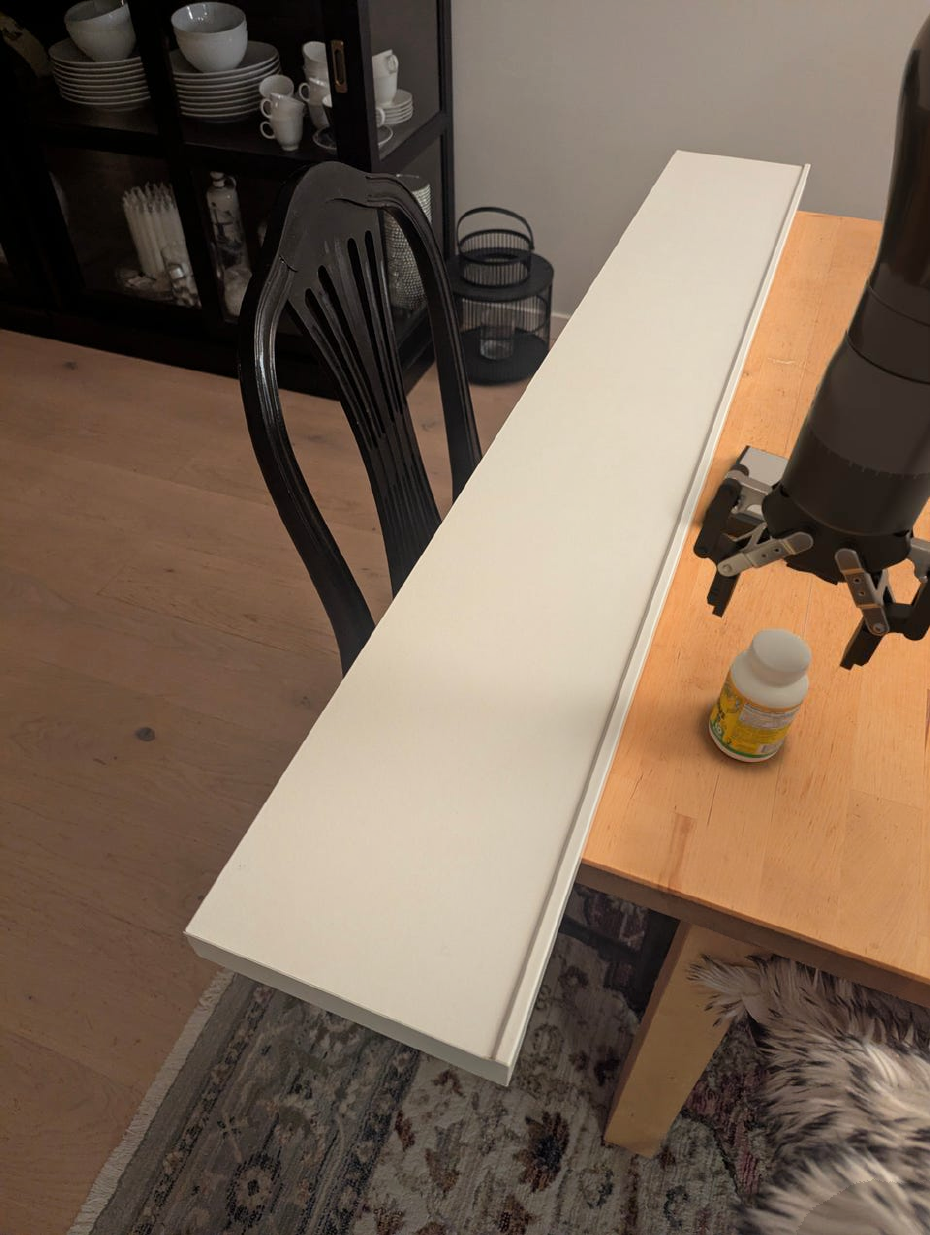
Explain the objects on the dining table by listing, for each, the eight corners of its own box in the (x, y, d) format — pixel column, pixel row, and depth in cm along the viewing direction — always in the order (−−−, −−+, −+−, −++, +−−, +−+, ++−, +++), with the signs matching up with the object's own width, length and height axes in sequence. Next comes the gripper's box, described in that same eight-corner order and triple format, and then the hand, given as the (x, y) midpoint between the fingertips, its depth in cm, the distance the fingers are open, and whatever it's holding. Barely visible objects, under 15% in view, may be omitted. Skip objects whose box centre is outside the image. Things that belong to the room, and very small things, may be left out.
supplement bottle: (773, 774, 64) (818, 690, 57) (700, 749, 65) (735, 664, 58) (783, 719, 68) (826, 634, 61) (714, 697, 69) (748, 611, 62)
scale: (858, 501, 87) (868, 480, 85) (828, 571, 80) (838, 550, 78) (741, 460, 91) (748, 439, 89) (702, 524, 83) (708, 502, 82)
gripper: (730, 415, 46) (661, 626, 58) (1017, 512, 42) (880, 719, 54) (769, 354, 51) (698, 561, 63) (1031, 436, 47) (903, 641, 58)
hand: (782, 634), depth 58 cm, fingers open, 8 cm apart
